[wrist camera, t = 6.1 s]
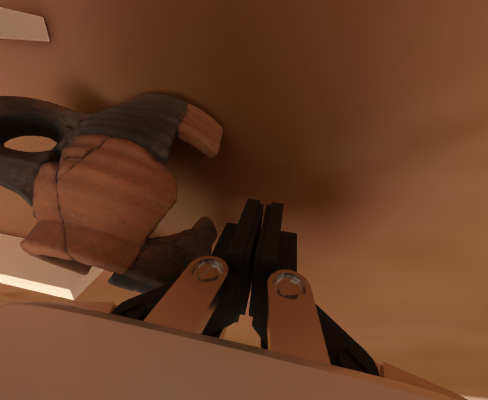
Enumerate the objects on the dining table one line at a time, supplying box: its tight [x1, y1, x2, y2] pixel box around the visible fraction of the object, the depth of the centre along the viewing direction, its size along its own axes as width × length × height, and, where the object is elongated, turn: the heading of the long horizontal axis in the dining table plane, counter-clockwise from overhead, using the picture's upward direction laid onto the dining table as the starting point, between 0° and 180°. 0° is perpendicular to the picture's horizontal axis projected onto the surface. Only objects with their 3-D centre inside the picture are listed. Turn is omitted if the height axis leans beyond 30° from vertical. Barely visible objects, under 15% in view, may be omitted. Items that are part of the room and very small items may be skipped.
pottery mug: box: [0, 93, 223, 294], centre depth 12 cm, size 12×10×8 cm
